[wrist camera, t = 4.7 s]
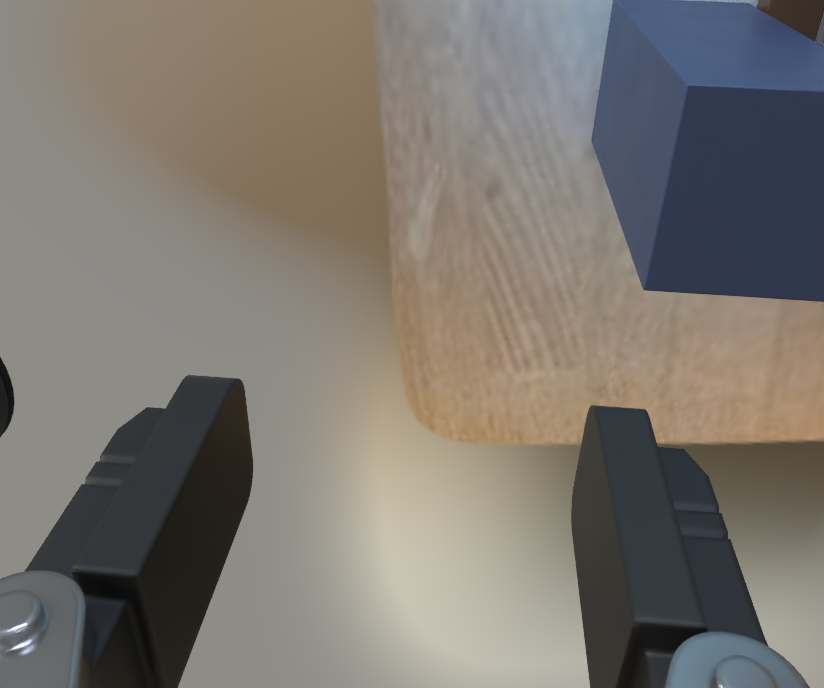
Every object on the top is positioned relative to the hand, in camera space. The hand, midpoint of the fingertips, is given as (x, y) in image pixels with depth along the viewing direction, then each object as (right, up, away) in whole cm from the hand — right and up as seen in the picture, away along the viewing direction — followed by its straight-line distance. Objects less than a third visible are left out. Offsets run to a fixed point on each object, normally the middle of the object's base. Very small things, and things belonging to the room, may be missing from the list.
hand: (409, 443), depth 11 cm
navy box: (+10, +12, +19) cm, 25 cm away
